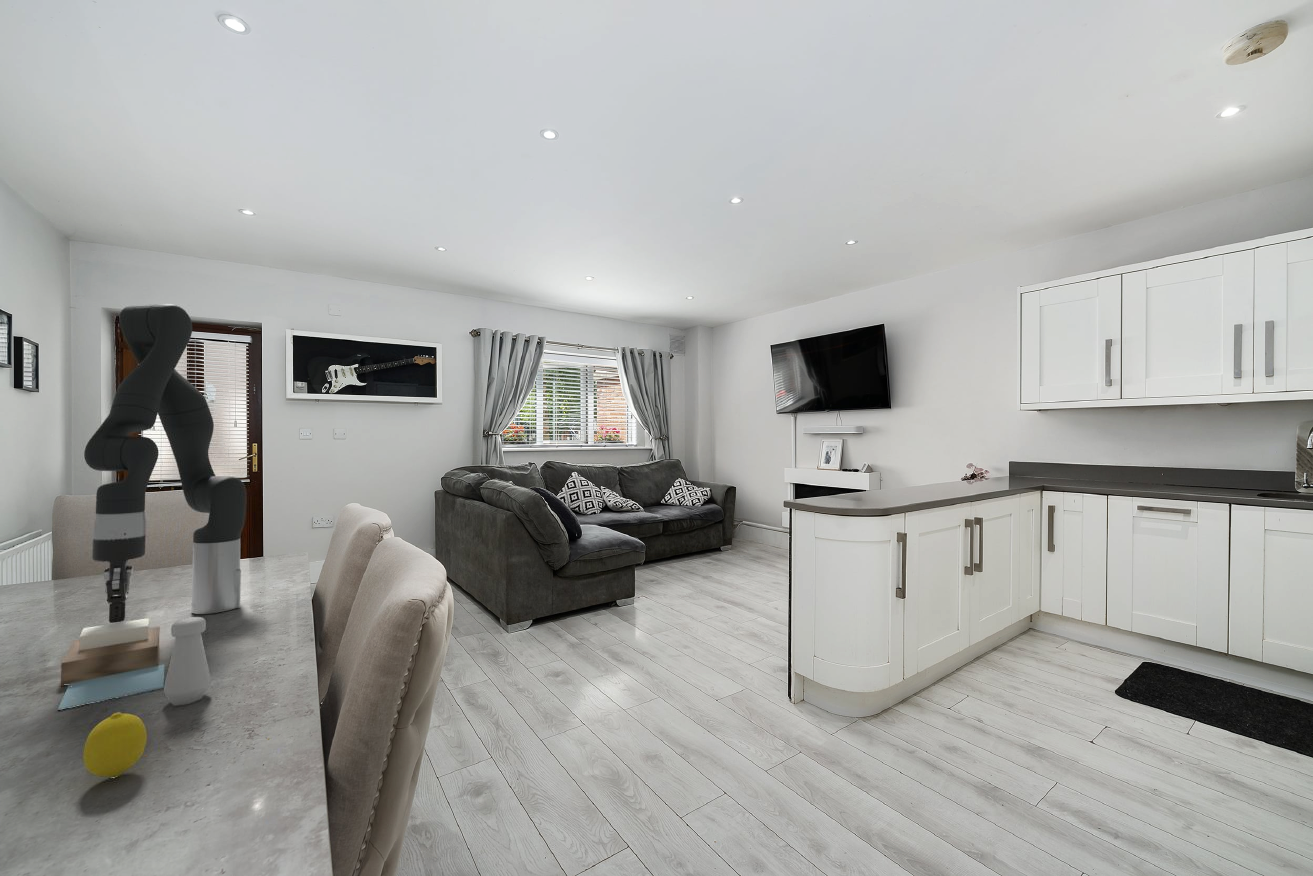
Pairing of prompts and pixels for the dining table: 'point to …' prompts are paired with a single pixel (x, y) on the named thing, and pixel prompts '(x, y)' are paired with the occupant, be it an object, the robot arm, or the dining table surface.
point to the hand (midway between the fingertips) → (117, 621)
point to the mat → (113, 686)
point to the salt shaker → (187, 663)
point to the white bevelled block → (114, 634)
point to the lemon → (114, 745)
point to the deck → (109, 659)
